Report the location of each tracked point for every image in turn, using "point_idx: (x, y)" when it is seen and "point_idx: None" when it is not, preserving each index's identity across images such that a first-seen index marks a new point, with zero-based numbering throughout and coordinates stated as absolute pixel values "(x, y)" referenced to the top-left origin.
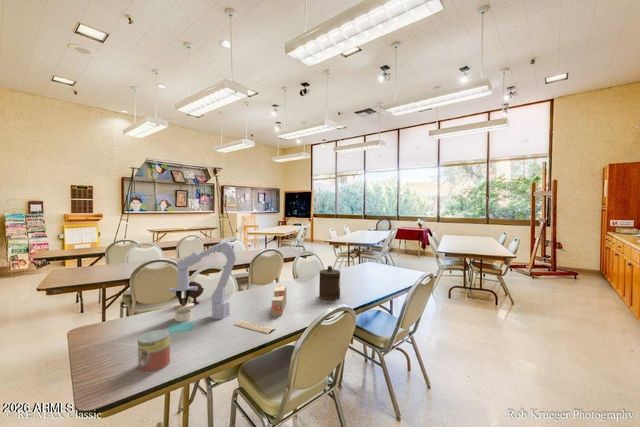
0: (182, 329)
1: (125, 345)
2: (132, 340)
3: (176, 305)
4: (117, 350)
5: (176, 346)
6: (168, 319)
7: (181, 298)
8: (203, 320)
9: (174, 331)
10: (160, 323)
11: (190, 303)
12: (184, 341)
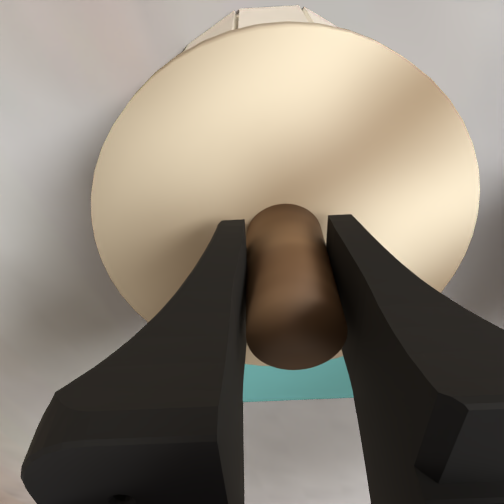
0: (307, 372)
1: (16, 454)
2: (11, 420)
3: (143, 205)
4: (14, 482)
5: (305, 491)
6: (63, 82)
7: (246, 334)
8: (494, 212)
9: (254, 389)
10: (32, 191)
11: (409, 139)
12: (339, 466)
